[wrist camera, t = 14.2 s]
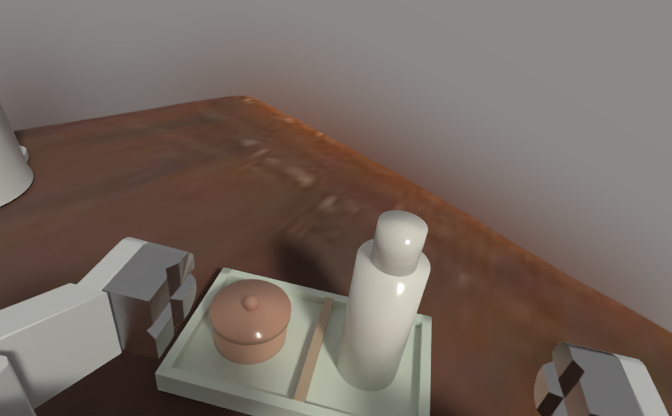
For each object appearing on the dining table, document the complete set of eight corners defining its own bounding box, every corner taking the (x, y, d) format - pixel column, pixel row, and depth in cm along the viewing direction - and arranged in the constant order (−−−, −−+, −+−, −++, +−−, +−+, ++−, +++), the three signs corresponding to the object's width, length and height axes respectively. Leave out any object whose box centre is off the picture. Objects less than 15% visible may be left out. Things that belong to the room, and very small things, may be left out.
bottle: (330, 382, 33) (359, 238, 25) (342, 333, 37) (369, 197, 30) (394, 398, 33) (442, 256, 25) (398, 346, 37) (441, 212, 29)
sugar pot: (197, 364, 34) (193, 317, 31) (229, 307, 40) (229, 262, 36) (274, 385, 34) (277, 339, 31) (296, 323, 39) (301, 279, 36)
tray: (157, 389, 32) (154, 371, 31) (223, 282, 42) (223, 265, 41) (422, 461, 30) (429, 445, 29) (426, 331, 40) (432, 315, 39)
